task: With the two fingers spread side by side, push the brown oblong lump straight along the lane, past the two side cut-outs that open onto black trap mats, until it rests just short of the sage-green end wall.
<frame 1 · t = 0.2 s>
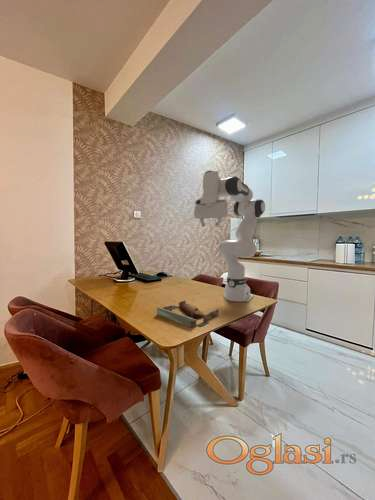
hand: (210, 226, 121), 47 cm above the table, fingers open, 8 cm apart
brown oblong lump: (192, 314, 120), on the table
trap lane: (187, 314, 117), on the table
trap mats: (187, 314, 117), on the table
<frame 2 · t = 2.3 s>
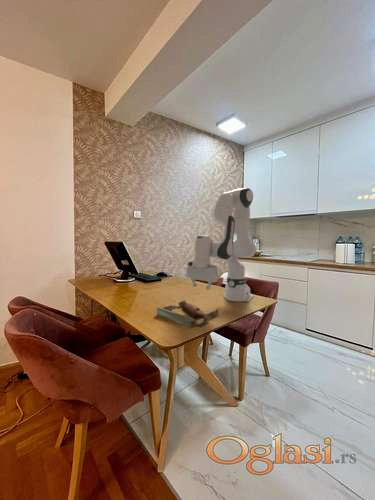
hand: (201, 288, 125), 12 cm above the table, fingers open, 8 cm apart
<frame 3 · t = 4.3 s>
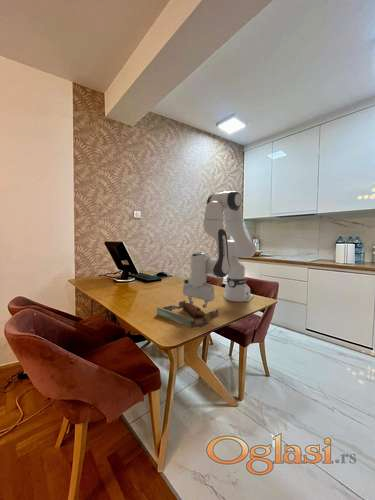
hand: (197, 305, 124), 3 cm above the table, fingers open, 8 cm apart
brown oblong lump: (195, 313, 121), on the table, touching gripper
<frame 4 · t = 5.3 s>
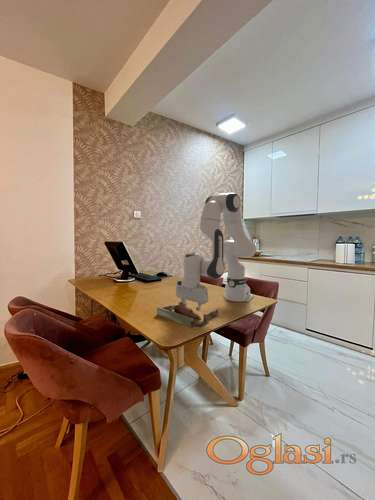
hand: (191, 308, 119), 3 cm above the table, fingers open, 8 cm apart
brown oblong lump: (187, 316, 117), on the table, touching gripper
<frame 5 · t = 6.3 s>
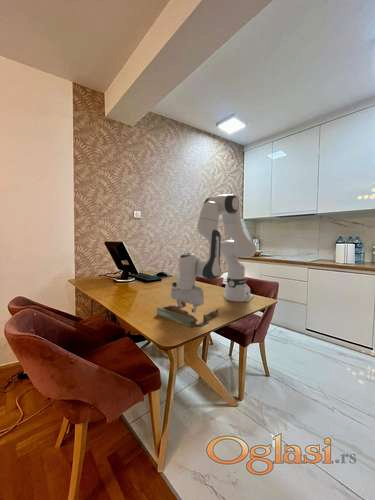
hand: (186, 310, 116), 3 cm above the table, fingers open, 8 cm apart
brown oblong lump: (182, 317, 115), on the table, touching gripper
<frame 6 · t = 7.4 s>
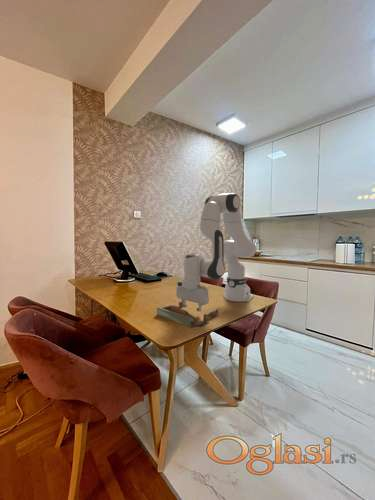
hand: (191, 309, 120), 2 cm above the table, fingers open, 8 cm apart
brown oblong lump: (182, 317, 115), on the table
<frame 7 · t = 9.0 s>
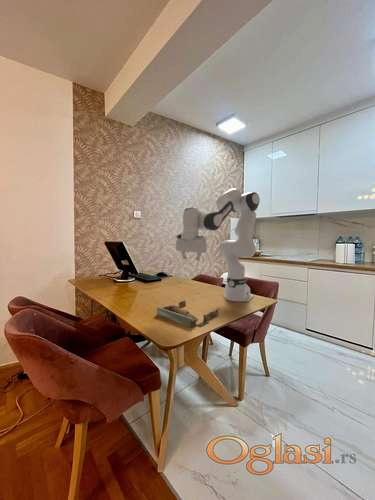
hand: (190, 259, 128), 28 cm above the table, fingers open, 8 cm apart
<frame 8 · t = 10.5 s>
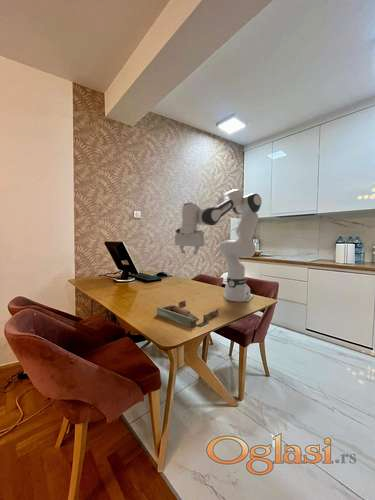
hand: (189, 253, 130), 31 cm above the table, fingers open, 8 cm apart
at the end: brown oblong lump inside the target area (3.1 cm from its centre), on the table; brown oblong lump moved 6.5 cm from its start; the gripper is holding nothing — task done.
